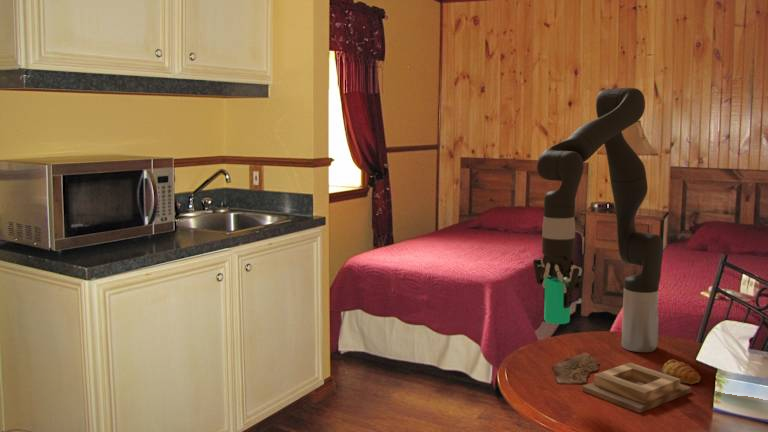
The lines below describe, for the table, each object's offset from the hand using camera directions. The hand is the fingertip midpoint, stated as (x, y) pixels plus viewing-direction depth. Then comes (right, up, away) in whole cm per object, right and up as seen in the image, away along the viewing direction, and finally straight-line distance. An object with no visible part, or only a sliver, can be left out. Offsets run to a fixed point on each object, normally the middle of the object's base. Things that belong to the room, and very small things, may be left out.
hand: (557, 304), depth 167 cm
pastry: (+34, -20, +9) cm, 40 cm away
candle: (0, -4, +1) cm, 4 cm away
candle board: (+19, -21, 0) cm, 28 cm away
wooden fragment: (+9, -19, +16) cm, 27 cm away
